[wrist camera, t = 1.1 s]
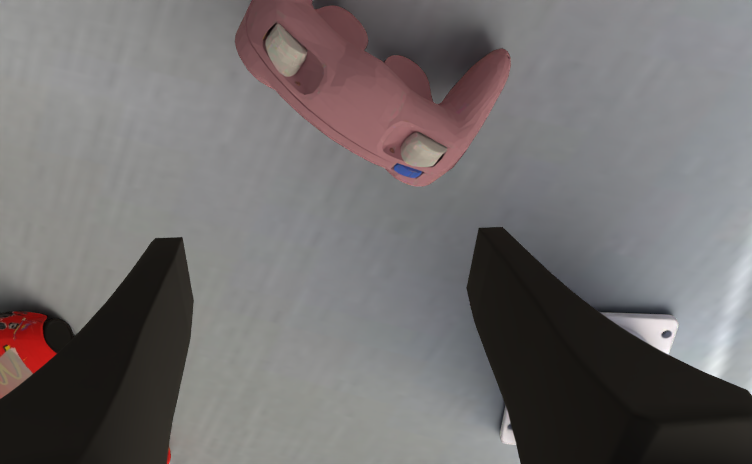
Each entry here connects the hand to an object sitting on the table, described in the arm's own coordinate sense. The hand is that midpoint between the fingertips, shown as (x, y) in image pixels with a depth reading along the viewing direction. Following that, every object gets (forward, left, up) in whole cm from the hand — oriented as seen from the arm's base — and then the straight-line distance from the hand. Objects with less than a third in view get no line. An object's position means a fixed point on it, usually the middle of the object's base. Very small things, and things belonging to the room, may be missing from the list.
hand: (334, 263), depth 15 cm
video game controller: (+3, -1, -13) cm, 13 cm away
